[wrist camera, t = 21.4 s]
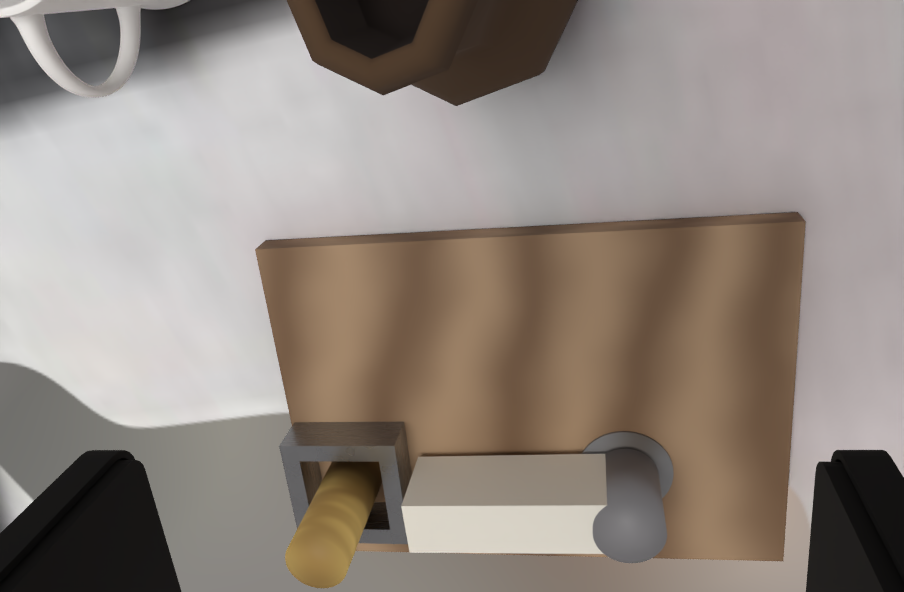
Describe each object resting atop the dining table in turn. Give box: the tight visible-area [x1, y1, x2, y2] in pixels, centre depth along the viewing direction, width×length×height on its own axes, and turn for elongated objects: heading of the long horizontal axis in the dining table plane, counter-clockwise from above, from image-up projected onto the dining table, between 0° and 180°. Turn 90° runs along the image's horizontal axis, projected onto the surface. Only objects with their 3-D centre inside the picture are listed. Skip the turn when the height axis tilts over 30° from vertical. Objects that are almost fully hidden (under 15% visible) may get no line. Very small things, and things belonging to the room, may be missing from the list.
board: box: [255, 212, 806, 561], centre depth 43 cm, size 28×20×4 cm
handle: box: [401, 449, 667, 563], centre depth 42 cm, size 13×4×5 cm, turn 97°
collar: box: [279, 421, 412, 544], centre depth 45 cm, size 7×7×2 cm
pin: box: [285, 461, 382, 588], centre depth 43 cm, size 3×3×8 cm
